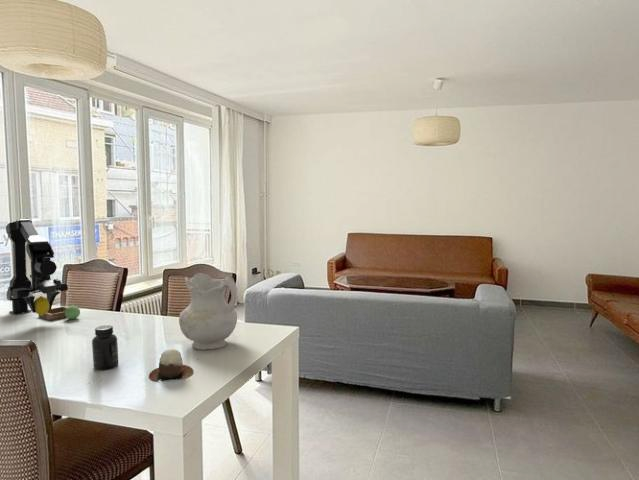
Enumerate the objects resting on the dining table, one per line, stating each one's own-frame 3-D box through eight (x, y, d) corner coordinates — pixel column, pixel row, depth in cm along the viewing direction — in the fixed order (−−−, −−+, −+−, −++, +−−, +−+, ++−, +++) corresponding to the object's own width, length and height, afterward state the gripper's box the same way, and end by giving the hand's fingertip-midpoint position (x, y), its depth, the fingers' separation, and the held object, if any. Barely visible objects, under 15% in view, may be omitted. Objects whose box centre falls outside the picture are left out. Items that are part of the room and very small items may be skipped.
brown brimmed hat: (147, 365, 134) (171, 338, 135) (175, 386, 136) (198, 359, 138) (142, 380, 122) (168, 350, 124) (172, 402, 125) (198, 372, 126)
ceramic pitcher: (252, 343, 162) (253, 273, 162) (226, 356, 143) (228, 277, 143) (198, 338, 168) (199, 270, 168) (166, 350, 149) (168, 275, 149)
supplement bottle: (111, 360, 141) (110, 322, 140) (122, 366, 136) (121, 326, 135) (89, 367, 135) (87, 327, 134) (99, 372, 131) (98, 332, 130)
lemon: (30, 316, 179) (29, 296, 178) (42, 313, 184) (41, 294, 183) (41, 318, 177) (40, 297, 177) (53, 314, 183) (52, 295, 182)
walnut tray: (38, 316, 192) (38, 311, 192) (64, 311, 201) (63, 306, 201) (51, 320, 186) (50, 314, 186) (77, 315, 195) (76, 309, 195)
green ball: (62, 319, 188) (61, 306, 188) (75, 316, 193) (75, 303, 192) (69, 321, 185) (68, 308, 185) (83, 318, 190) (82, 305, 189)
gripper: (23, 277, 167) (25, 319, 168) (74, 271, 182) (76, 309, 184) (9, 274, 173) (11, 315, 175) (60, 268, 189) (61, 305, 190)
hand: (41, 311), depth 181 cm, fingers closed on lemon, 5 cm apart
